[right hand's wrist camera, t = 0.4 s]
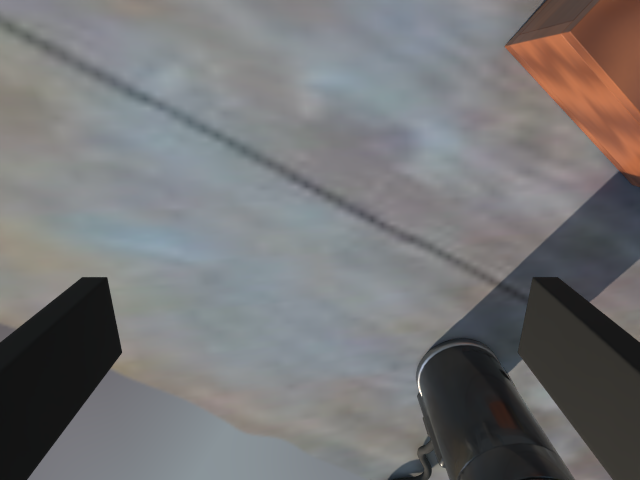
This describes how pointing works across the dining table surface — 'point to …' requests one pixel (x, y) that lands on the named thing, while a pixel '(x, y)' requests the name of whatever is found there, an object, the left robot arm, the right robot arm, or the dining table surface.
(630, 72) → the cabinet
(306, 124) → the dining table surface
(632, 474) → the right robot arm
